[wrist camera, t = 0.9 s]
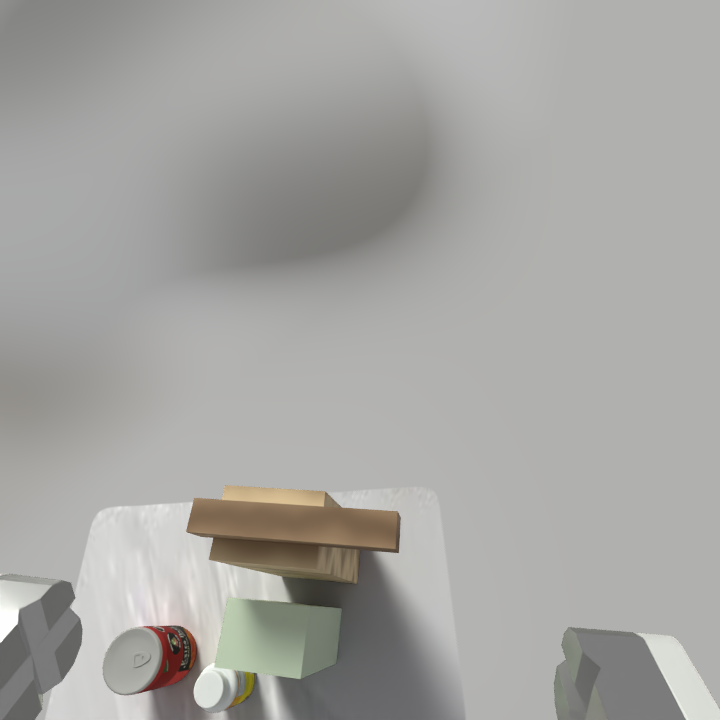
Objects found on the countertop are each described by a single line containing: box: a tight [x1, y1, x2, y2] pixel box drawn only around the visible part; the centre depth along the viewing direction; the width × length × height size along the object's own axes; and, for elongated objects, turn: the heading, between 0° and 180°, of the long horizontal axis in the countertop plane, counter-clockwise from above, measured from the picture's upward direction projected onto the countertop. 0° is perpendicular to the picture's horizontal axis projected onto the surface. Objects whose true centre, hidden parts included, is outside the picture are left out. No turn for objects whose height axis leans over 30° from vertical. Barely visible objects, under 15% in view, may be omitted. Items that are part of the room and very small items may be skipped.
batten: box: [186, 498, 401, 553], centre depth 51 cm, size 4×22×4 cm, turn 84°
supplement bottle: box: [194, 663, 256, 713], centre depth 65 cm, size 6×6×10 cm
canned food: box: [103, 626, 196, 695], centre depth 68 cm, size 8×8×11 cm
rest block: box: [214, 598, 342, 679], centre depth 63 cm, size 7×10×19 cm
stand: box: [209, 485, 360, 584], centre depth 64 cm, size 8×12×26 cm, turn 84°
